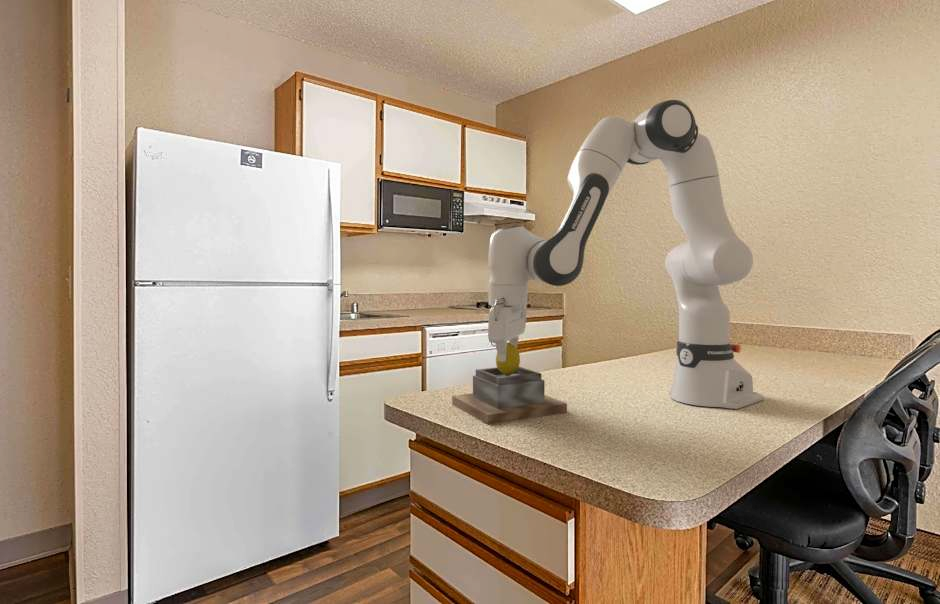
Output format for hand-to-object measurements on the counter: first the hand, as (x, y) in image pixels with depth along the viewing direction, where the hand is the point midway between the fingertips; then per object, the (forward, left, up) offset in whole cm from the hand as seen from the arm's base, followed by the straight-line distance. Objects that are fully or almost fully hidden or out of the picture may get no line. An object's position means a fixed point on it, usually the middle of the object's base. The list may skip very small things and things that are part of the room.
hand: (507, 357), depth 114 cm
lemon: (0, 0, -5) cm, 5 cm away
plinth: (0, 0, -12) cm, 12 cm away
